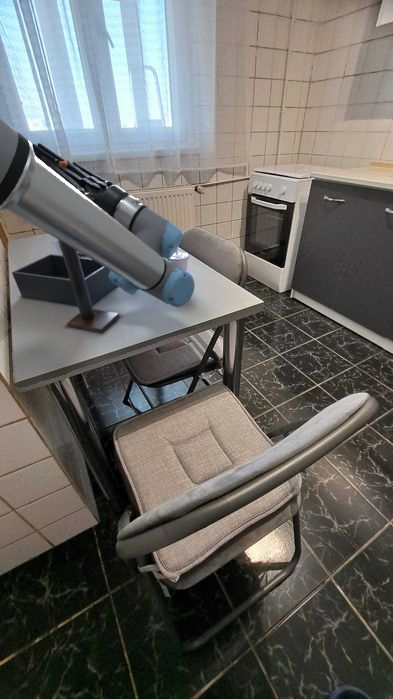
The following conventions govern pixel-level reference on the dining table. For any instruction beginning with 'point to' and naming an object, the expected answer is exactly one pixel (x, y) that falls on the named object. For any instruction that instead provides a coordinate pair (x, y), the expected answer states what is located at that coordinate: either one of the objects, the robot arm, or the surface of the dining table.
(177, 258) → the smoothie
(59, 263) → the bin
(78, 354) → the dining table surface
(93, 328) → the stand
